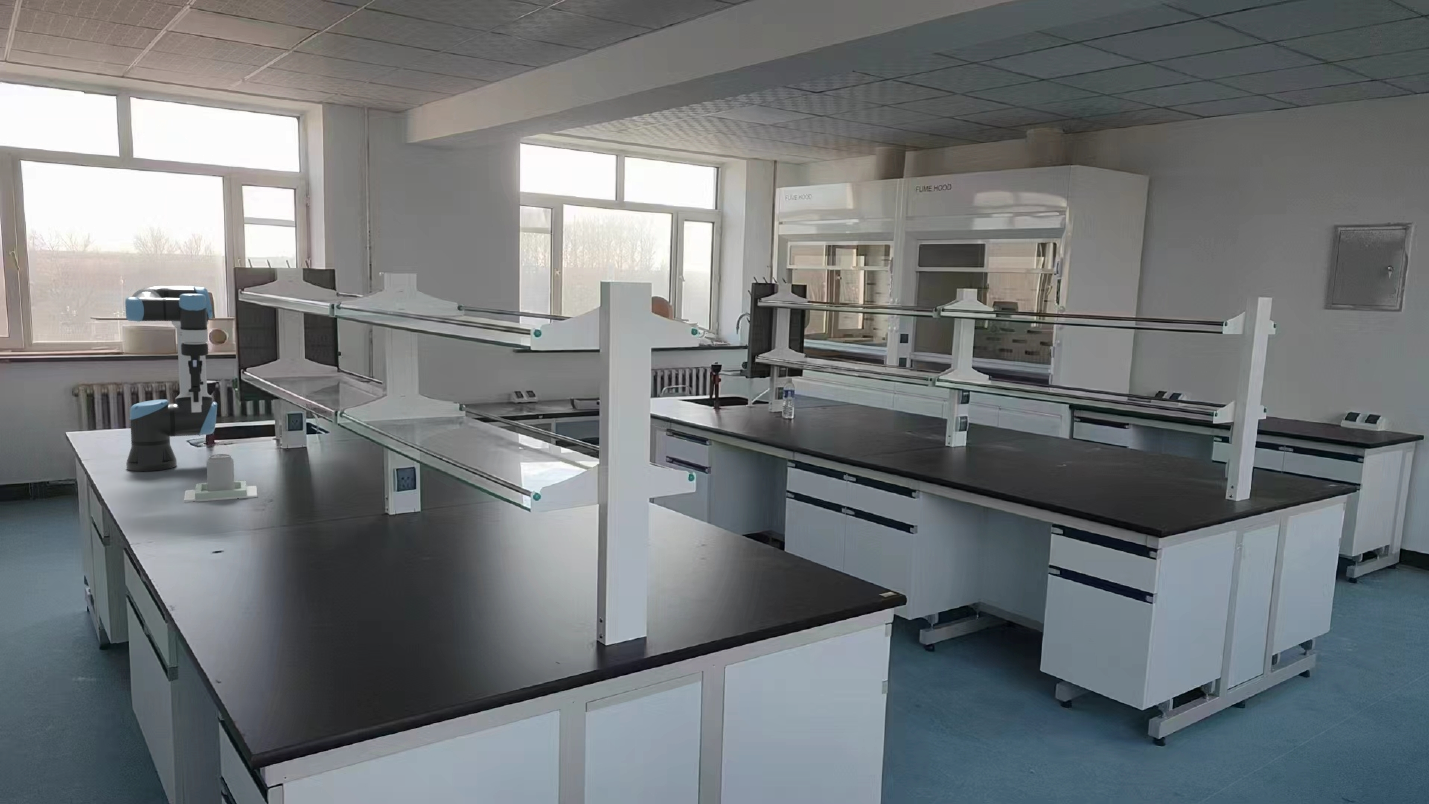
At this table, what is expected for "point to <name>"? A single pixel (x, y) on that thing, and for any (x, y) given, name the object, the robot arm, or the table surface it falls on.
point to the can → (220, 472)
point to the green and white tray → (220, 492)
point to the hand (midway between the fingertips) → (197, 408)
